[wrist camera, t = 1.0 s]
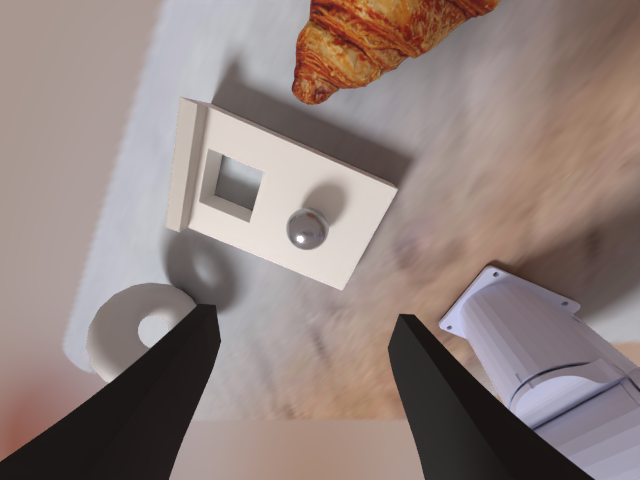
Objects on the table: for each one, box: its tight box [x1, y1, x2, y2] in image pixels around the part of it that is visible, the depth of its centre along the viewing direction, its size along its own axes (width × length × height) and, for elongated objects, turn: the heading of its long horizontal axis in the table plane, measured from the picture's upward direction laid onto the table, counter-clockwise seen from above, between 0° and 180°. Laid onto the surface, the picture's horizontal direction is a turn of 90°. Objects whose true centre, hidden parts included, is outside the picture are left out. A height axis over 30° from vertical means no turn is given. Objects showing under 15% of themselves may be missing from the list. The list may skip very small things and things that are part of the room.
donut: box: [86, 283, 197, 383], centre depth 23 cm, size 10×4×10 cm, turn 34°
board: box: [165, 97, 398, 290], centre depth 20 cm, size 16×10×4 cm, turn 68°
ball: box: [286, 208, 329, 250], centre depth 18 cm, size 3×3×3 cm
